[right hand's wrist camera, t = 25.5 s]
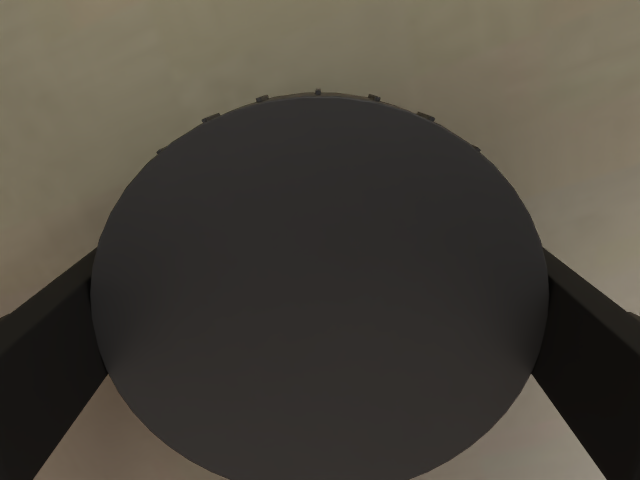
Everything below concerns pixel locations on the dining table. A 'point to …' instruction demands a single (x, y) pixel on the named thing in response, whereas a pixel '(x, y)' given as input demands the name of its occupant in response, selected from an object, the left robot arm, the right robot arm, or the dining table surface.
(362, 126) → the lid
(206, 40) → the dining table surface
